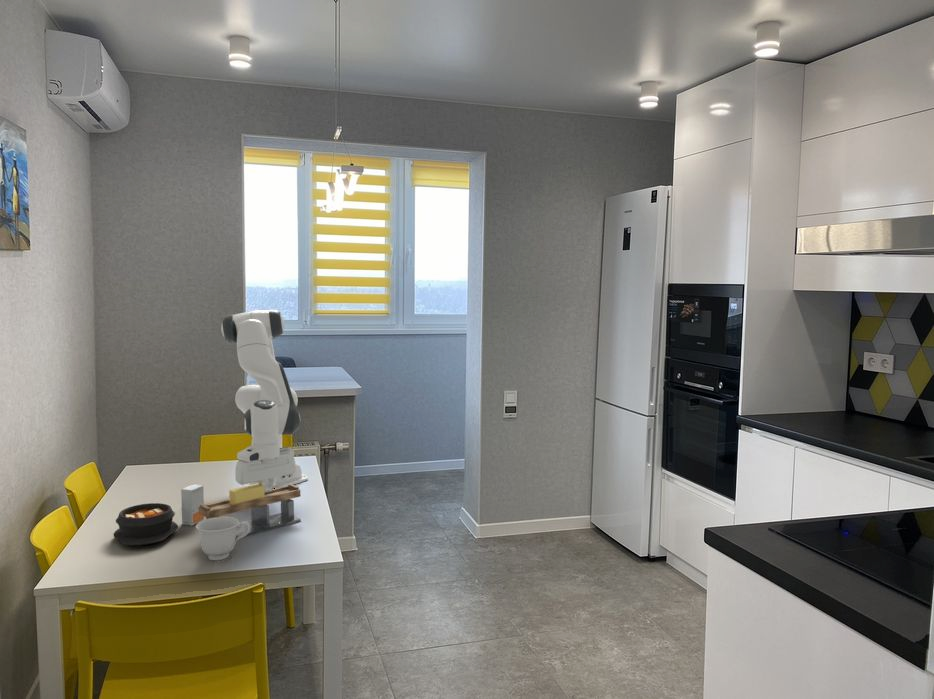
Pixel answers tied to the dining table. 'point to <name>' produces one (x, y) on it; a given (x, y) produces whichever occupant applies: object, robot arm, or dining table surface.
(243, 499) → the slider block
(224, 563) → the dining table surface
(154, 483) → the dining table surface
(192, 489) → the skincare box
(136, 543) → the casserole
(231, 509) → the balance plank
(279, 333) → the robot arm
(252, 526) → the fulcrum stand
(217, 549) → the teacup
